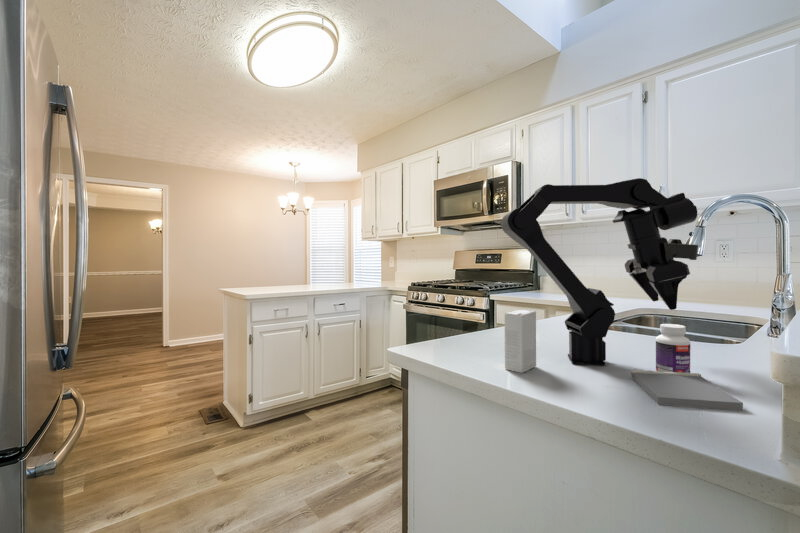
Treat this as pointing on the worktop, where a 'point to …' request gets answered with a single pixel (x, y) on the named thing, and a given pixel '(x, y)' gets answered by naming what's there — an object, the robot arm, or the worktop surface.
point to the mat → (684, 390)
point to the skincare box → (520, 340)
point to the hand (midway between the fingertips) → (664, 304)
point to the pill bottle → (672, 349)
